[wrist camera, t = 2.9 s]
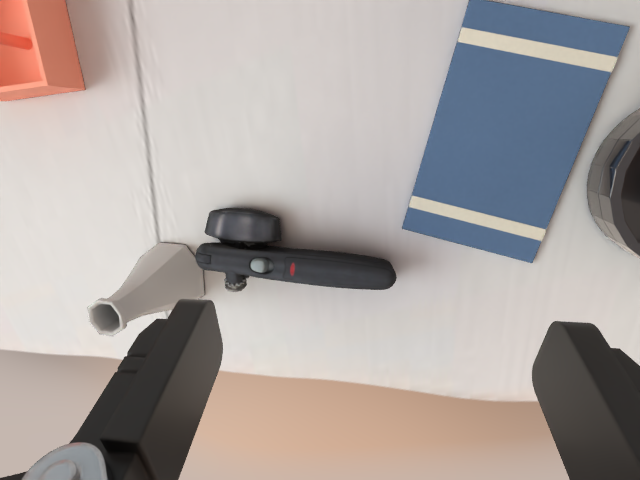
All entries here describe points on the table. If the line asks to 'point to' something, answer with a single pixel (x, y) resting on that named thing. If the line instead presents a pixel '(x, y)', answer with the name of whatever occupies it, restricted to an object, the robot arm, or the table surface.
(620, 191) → the pan
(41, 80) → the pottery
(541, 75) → the tea towel
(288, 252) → the can opener
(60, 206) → the table surface
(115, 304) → the flask
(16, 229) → the table surface
